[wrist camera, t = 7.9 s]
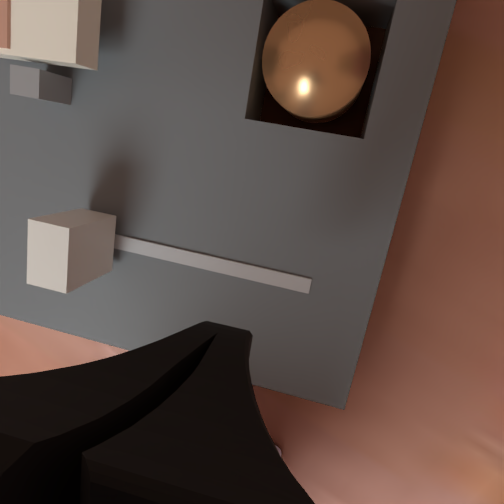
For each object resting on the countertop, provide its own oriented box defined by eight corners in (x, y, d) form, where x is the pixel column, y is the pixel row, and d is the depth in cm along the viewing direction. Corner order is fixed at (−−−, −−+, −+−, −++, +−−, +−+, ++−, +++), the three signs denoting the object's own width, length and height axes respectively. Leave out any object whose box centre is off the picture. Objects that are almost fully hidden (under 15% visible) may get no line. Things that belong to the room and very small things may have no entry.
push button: (352, 129, 16) (355, 124, 13) (267, 115, 17) (253, 107, 14) (374, 34, 15) (383, 5, 12) (283, 22, 16) (272, -8, 13)
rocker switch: (97, 70, 14) (72, 62, 13) (-3, 57, 16) (-32, 49, 15) (103, -26, 13) (77, -42, 12) (-3, -30, 15) (-34, -44, 14)
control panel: (342, 372, 19) (345, 439, 15) (23, 288, 22) (-59, 322, 18) (454, -48, 15) (508, -142, 10) (29, -88, 17) (-80, -176, 13)
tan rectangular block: (112, 270, 17) (66, 293, 14) (78, 262, 17) (26, 283, 14) (116, 215, 16) (69, 228, 13) (81, 208, 16) (27, 218, 14)
